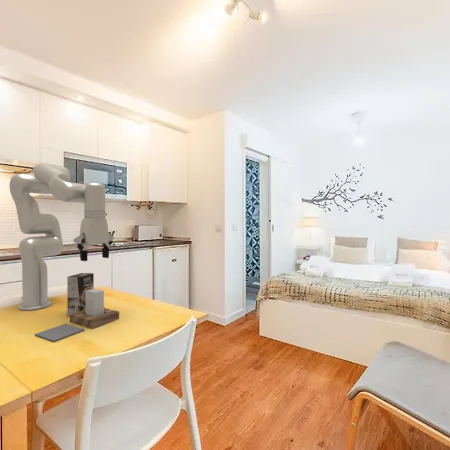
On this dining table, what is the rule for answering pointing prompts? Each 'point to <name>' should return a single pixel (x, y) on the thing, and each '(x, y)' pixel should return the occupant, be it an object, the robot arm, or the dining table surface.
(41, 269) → the robot arm
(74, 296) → the coffee box
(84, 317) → the pocket block
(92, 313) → the skincare box
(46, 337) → the coaster
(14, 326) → the dining table surface
